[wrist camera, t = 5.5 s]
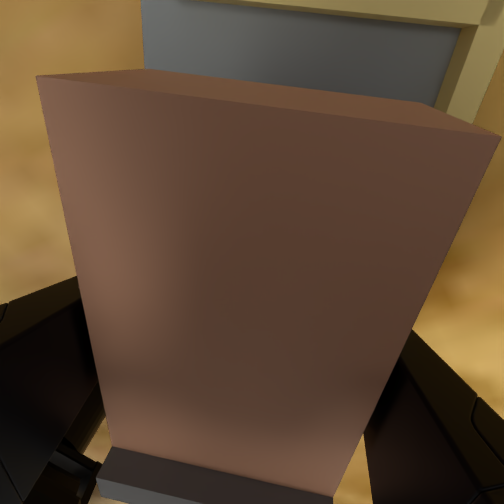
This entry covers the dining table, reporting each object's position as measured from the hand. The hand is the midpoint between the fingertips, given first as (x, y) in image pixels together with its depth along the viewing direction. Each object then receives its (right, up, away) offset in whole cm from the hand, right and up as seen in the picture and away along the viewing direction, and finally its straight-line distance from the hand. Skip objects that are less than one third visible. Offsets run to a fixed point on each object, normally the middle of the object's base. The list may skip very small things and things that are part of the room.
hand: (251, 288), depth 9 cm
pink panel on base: (0, +1, +1) cm, 2 cm away
